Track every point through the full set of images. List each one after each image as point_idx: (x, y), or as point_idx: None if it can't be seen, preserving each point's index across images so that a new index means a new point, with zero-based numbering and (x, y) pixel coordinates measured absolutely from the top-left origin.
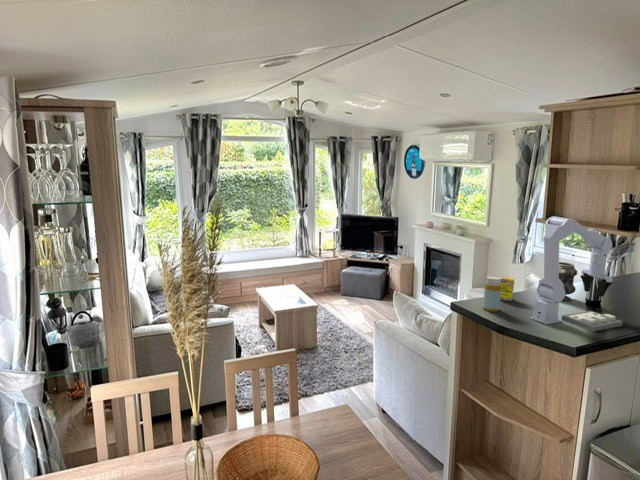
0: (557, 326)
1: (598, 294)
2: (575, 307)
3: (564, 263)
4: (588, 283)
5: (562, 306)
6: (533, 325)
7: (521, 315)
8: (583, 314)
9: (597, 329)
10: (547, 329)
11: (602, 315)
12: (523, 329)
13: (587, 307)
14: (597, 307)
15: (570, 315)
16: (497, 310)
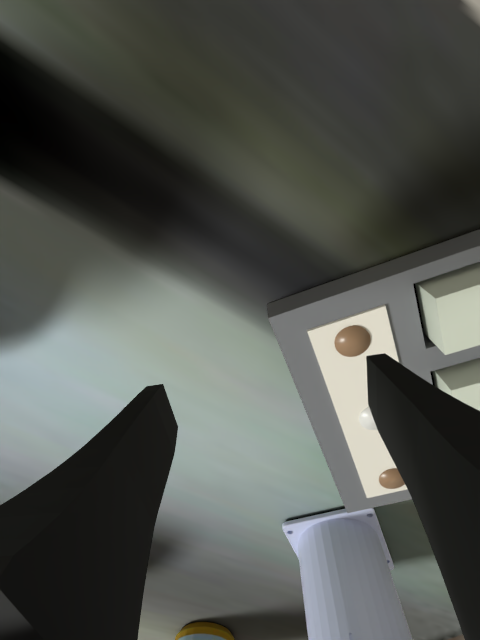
0: (418, 538)
1: (379, 424)
2: (101, 305)
3: None
4: (134, 495)
5: (98, 376)
6: None
7: (272, 586)
8: (352, 415)
9: None
10: (440, 577)
11: (446, 350)
12: (420, 628)
13: (78, 208)
14: (53, 104)
15: (353, 480)
16: (232, 636)
